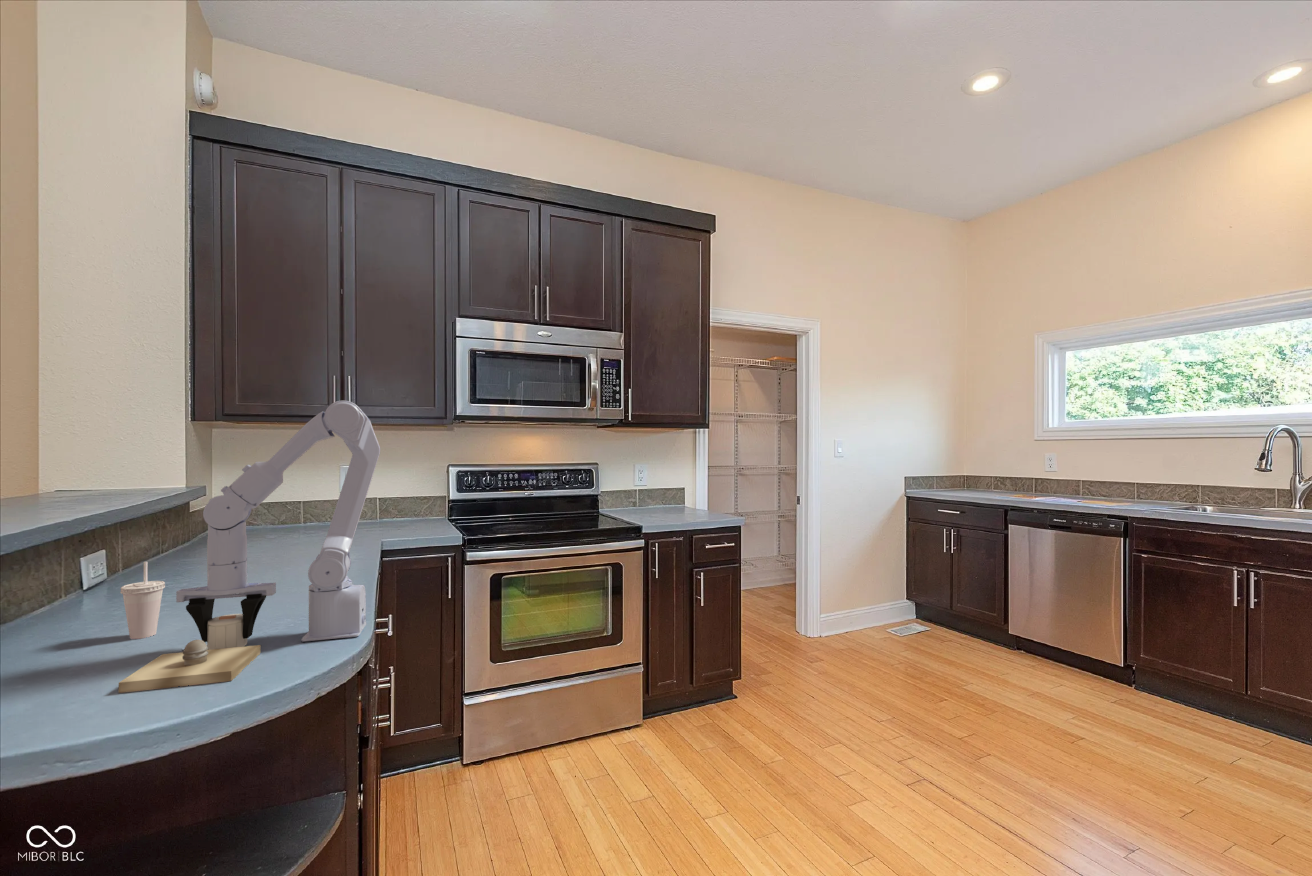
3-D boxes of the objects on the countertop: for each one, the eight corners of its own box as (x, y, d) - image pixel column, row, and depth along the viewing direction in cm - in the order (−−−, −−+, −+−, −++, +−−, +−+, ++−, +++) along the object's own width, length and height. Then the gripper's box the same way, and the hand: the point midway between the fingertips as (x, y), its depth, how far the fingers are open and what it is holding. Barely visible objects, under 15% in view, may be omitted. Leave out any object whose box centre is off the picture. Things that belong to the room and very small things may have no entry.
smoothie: (138, 642, 106) (138, 565, 106) (110, 640, 107) (110, 564, 107) (174, 631, 112) (174, 558, 112) (147, 629, 113) (147, 557, 113)
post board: (260, 654, 99) (260, 624, 99) (231, 682, 88) (231, 647, 88) (162, 664, 95) (162, 632, 95) (118, 694, 84) (118, 658, 84)
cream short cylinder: (251, 639, 107) (251, 610, 107) (239, 650, 101) (239, 619, 101) (216, 643, 105) (216, 613, 105) (201, 653, 100) (201, 622, 100)
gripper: (281, 555, 109) (281, 627, 109) (190, 560, 105) (190, 635, 105) (268, 562, 102) (268, 639, 102) (169, 568, 98) (169, 648, 98)
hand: (227, 638), depth 103 cm, fingers closed on cream short cylinder, 6 cm apart
